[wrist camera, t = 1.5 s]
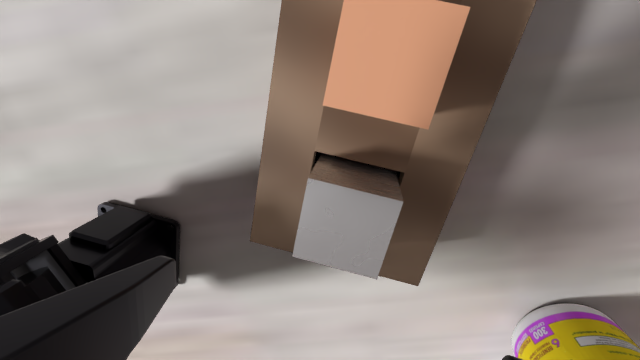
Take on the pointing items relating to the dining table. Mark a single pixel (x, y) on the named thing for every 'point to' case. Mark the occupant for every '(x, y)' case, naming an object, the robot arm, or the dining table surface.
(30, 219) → the dining table surface
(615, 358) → the supplement bottle
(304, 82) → the console
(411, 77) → the orange cube
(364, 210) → the grey cube
